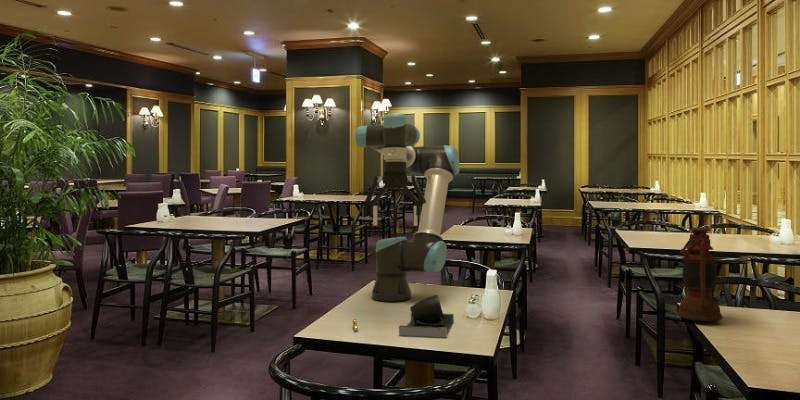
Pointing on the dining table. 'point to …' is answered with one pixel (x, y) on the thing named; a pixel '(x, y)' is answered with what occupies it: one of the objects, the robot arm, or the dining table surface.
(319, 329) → the dining table surface
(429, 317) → the mug
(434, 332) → the cradle
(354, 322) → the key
